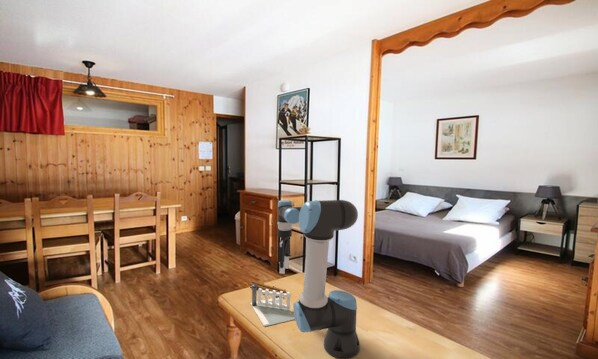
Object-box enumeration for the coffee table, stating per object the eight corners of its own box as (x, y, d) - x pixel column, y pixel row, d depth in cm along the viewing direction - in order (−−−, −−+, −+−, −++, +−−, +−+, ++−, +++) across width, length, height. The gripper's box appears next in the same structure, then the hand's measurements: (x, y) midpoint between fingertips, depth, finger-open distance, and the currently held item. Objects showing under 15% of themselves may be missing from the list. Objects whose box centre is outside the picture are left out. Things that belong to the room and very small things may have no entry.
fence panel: (257, 305, 160) (257, 289, 160) (258, 303, 162) (258, 287, 161) (289, 310, 156) (289, 293, 155) (290, 308, 157) (290, 292, 157)
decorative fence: (277, 298, 169) (288, 292, 178) (277, 295, 169) (288, 289, 177) (245, 287, 183) (256, 282, 191) (245, 284, 183) (256, 279, 191)
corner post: (258, 306, 161) (258, 285, 160) (252, 307, 160) (252, 286, 159) (256, 303, 164) (256, 283, 163) (250, 304, 163) (250, 284, 162)
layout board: (296, 319, 149) (296, 318, 149) (264, 326, 142) (264, 326, 142) (278, 297, 171) (278, 296, 171) (249, 303, 164) (249, 302, 164)
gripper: (283, 224, 171) (283, 263, 172) (271, 232, 152) (271, 276, 153) (296, 225, 169) (295, 265, 171) (285, 234, 150) (285, 278, 152)
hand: (284, 270), depth 162 cm, fingers open, 7 cm apart
